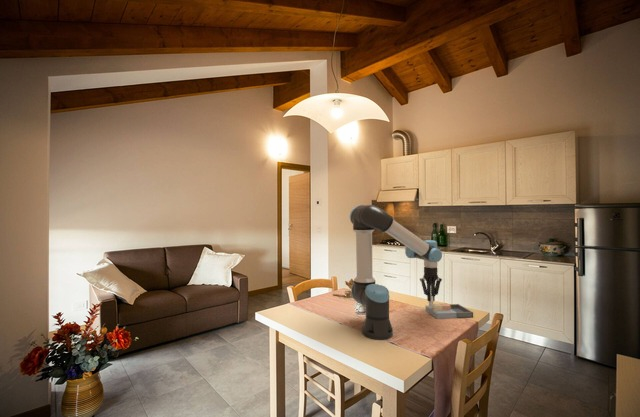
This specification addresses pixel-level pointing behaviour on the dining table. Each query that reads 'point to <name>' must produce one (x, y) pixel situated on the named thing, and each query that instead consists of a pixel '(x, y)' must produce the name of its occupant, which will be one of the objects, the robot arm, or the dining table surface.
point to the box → (461, 311)
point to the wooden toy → (347, 291)
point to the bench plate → (442, 313)
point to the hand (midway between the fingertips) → (431, 306)
